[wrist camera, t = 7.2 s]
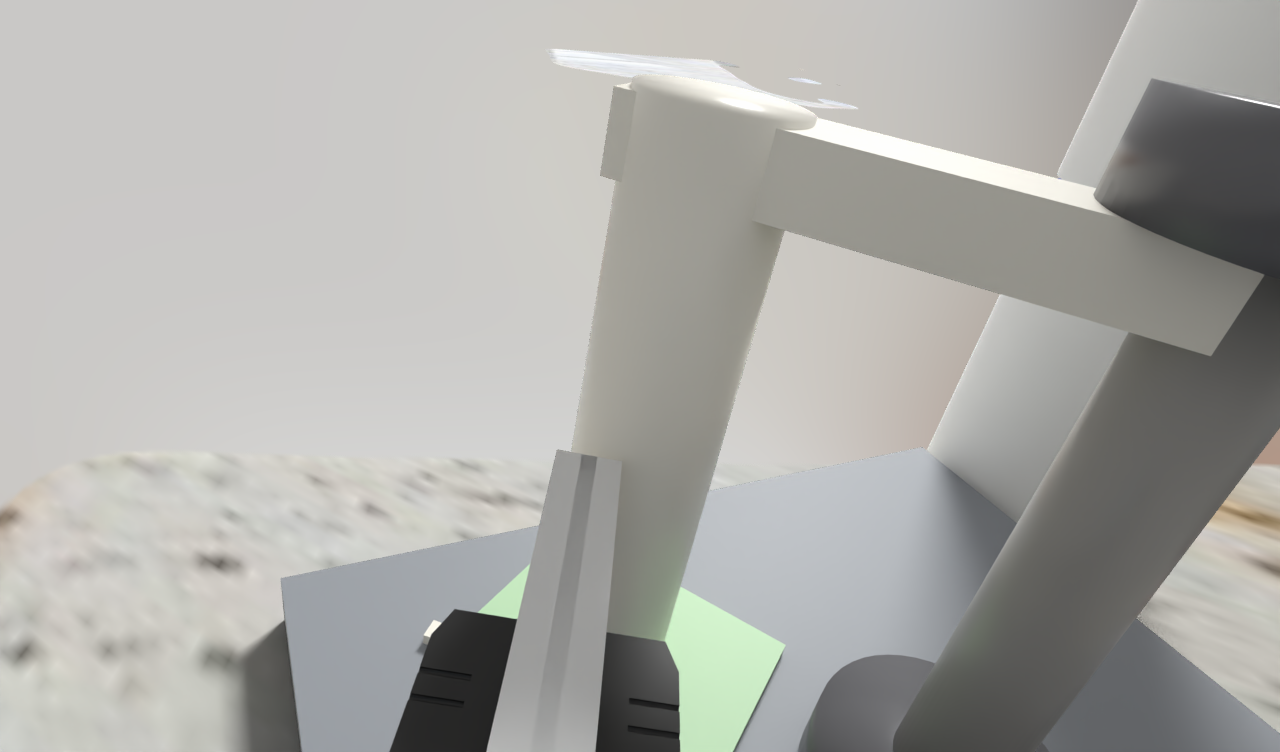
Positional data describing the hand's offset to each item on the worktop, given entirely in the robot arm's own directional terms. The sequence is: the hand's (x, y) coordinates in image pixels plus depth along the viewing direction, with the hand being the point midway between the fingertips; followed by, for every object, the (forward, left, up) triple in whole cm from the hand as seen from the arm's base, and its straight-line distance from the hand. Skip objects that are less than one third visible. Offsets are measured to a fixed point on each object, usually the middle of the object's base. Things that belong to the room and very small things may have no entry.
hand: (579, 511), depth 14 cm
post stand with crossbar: (-5, +3, -6) cm, 8 cm away
